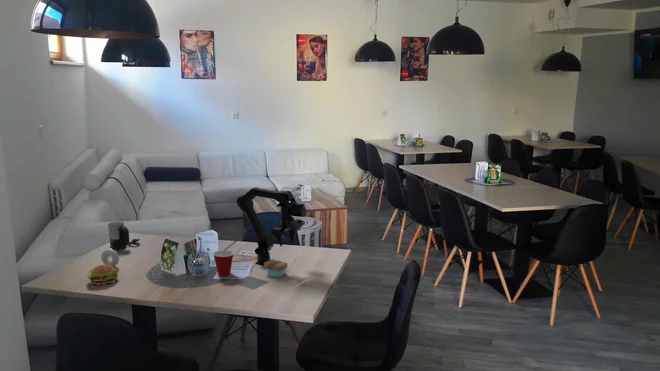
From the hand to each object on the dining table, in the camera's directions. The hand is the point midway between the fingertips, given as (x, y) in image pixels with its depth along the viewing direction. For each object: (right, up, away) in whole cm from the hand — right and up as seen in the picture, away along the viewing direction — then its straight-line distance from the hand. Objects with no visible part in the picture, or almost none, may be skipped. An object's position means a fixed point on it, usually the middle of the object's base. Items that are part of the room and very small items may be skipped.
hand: (286, 243), depth 260 cm
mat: (-16, -17, -20) cm, 31 cm away
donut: (-94, -13, +3) cm, 95 cm away
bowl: (-5, -15, -10) cm, 18 cm away
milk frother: (-101, -6, +37) cm, 107 cm away
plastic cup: (-31, -15, -9) cm, 35 cm away
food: (-89, -17, -17) cm, 92 cm away
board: (-5, -11, -11) cm, 16 cm away
